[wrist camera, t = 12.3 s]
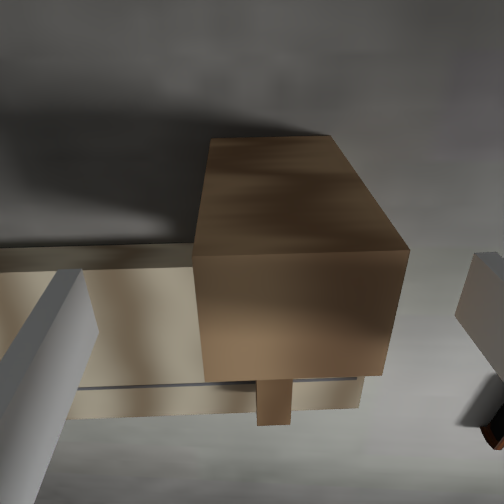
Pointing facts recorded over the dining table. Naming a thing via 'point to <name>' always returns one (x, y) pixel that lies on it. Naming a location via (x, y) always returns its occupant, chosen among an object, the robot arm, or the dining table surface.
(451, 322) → the dining table surface
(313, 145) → the brown block with tab
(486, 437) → the tool
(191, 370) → the board
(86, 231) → the dining table surface
